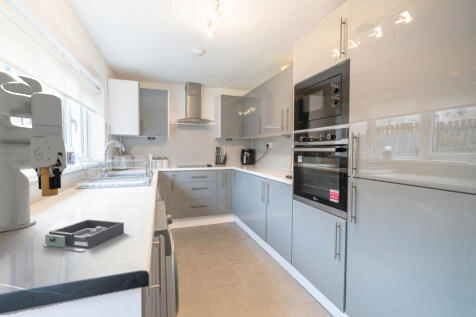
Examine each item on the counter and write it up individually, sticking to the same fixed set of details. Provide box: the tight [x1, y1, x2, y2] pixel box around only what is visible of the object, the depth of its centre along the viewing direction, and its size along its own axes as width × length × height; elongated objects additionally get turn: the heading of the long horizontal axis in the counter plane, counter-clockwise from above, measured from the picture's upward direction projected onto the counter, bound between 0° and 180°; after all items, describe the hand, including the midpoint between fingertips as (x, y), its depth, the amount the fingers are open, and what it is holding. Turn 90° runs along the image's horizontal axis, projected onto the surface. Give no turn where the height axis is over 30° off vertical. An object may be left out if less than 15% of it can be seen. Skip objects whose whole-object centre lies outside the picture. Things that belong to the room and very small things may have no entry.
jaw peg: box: [40, 165, 59, 197], centre depth 70 cm, size 5×5×10 cm
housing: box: [42, 219, 125, 253], centre depth 70 cm, size 16×15×4 cm
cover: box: [44, 233, 66, 247], centre depth 63 cm, size 7×1×3 cm, turn 75°
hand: (49, 188), depth 70 cm, fingers closed on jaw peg, 4 cm apart
